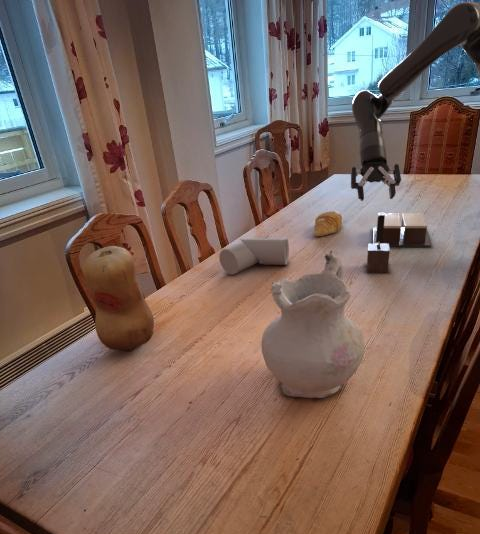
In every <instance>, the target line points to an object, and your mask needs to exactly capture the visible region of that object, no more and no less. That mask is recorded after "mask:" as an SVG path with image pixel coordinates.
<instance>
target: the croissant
mask: <svg viewBox="0 0 480 534" xmlns="http://www.w3.org/2000/svg"><path fill="white" fill-rule="evenodd" d="M342 223H343V217H342V215H341V214H340V213H337V212H335V211H325V212H323V213H321V214H319V215H317V217H316V218H315V220H314V231H313V235H314V236H315V237H323V236H328V235H331V234H335V233H337V232H338V231H339V230H340V229H341V226H342Z"/></svg>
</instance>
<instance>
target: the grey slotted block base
mask: <svg viewBox="0 0 480 534" xmlns="http://www.w3.org/2000/svg"><path fill="white" fill-rule="evenodd" d="M384 213H385V220H384V232H383V242H380V244H389V248H428V249H429V248H431V246H432V245H431V241H430V239H429V236H428V233H427V230H428V224H427V221H426V219H425V215H424V213H423V212H403V213H402V215H401V217H400V213H399V212H394V213H391V212H388V213H386V212H384ZM376 233H377V227H373V228H372V235H373V237H372V238H373V239H372V240H373V241H372V242H373V243H372V244H378V242H376Z"/></svg>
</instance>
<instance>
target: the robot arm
mask: <svg viewBox="0 0 480 534" xmlns="http://www.w3.org/2000/svg"><path fill="white" fill-rule="evenodd" d="M458 46H460V48H461V49H462V50H464V52H465V53H466V54H467V55H468V57H469V58H470V59H471V61H472V63H473V65H474V66H475V69H476V71H477V75H478V78H479V79H480V2H477V1H463V2H460V3H459V2H458V3H457V4H456V5H454V6H452V7H451V8H450V9H449V10H448V12H447V13H446V14H445V15H444V16H443V17H442V19H441V20H440V21H439V22H438V23H437V25H435V27H434V28H433V30H432V31H431V32H430V33H429V34H428V35H427V36H426V37H425V38H424V39H423V40H422V42H420V44H418V46H417V47H415V49H413V50H412V51H411V52H410V53H409V54H408V55H407V56H406V57H405V58H404V59H402V60H401V61H400V62H399V63H398V64H397V65H396V66H395V67H394V68H393V69H391V70H390V71H389V72H388V73H387V74H385V76H383V77H382V78H381V80H379V82H378V84H377V85H378V86H377V88H378V91H379V94H380V95H378V96H377V95H376V94H374V93H372V92H370V91H369V90H361V91H359V92H357V93H356V94H355V96H354V97H353V100H352V104H351V111H352V115H353V118H354V122H355V124H356V126H357V129H358V136H359V137H358V138H359V157H360V168H357V167H355V166H352V168H351V171H350V188H351V189H352V190H356V191H357V198H358V199H359V200H360V202H363V201H364V199H365V192H364V186H366V185H367V183H368V182H369V184H371V183H380V182H382V184H384V185H386V186H387V187H388V194H389V200H393V199H394V197H395V196H396V194H397V192H396V187H399V186H400V185H401V182H402V175H401V171H400V166H399V164H398V163H395V164H394V165H392V166H391V165H390V166H389V164H388V159H387V147H386V141H385V137H384V129H383V123H382V120H381V118H382V117H383V116H384V115H385V113H386V112H387V111H388V110H389V108H390V107H391V105H392V104H393V103H394V102H395V100H396V99H397V98H398V97H400V96H401V94H403V93H404V92H405V91H406V90H407V89H409V88H410V87H411V86H412V85H413V84H415V82H417V80H418V79H419V78H420V77H421V76H423V74H424V72H426V71H427V69H428V68H430V67H431V65H433V64H434V63H435V62H436V61H437V60H438V59H440V58H441V57H442V56H444V55H445V54H447V53H449V52H450V51H452V50H453V49H454V48H457V47H458ZM390 173H391V174H390ZM359 174H360V175H361V176H362V178H361V180H360V181H359V182H357V177H358V176H359ZM391 175H393V178H392V177H391Z"/></svg>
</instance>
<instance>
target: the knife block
mask: <svg viewBox="0 0 480 534" xmlns="http://www.w3.org/2000/svg"><path fill="white" fill-rule="evenodd" d="M390 253H391V250H390V247H389V244H380V247H379V249H378V244H373V243H372V242H371V243H368V244H367V257H366V258H367V259H366V273H370V274H371V273H375V274H377V273H378V274H388V273H389V263H390Z"/></svg>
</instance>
